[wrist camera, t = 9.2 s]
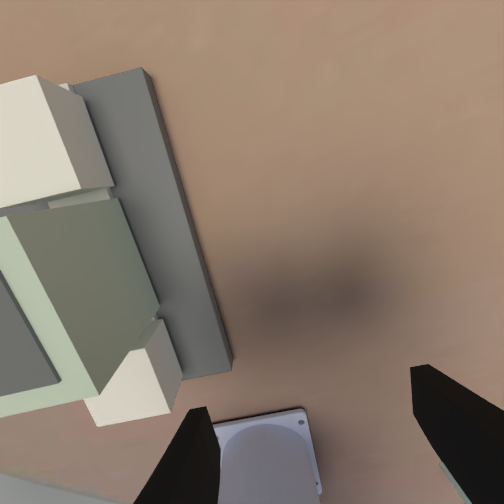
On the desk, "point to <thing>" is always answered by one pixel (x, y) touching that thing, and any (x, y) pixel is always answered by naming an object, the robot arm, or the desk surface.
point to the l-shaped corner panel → (455, 484)
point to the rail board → (135, 211)
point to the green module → (68, 303)
